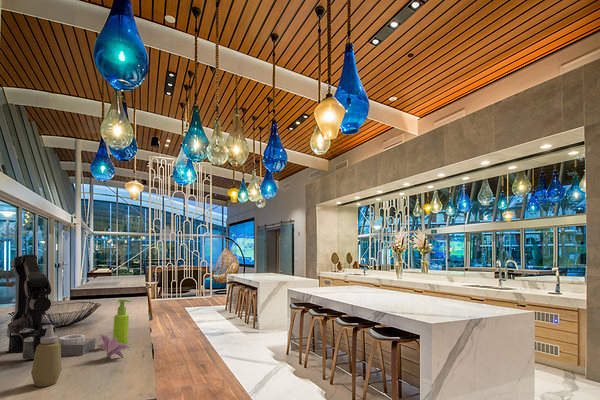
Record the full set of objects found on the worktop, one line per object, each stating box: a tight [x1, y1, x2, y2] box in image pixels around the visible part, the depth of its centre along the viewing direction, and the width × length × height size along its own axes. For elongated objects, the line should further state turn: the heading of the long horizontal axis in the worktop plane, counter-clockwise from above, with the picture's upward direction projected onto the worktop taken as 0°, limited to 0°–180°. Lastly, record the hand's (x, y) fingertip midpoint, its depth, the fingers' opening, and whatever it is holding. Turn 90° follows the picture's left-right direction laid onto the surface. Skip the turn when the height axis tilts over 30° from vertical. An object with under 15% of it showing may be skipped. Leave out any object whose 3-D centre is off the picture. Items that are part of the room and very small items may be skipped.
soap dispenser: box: [112, 299, 132, 345], centre depth 174 cm, size 6×7×20 cm
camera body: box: [57, 334, 97, 357], centre depth 163 cm, size 14×12×6 cm
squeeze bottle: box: [30, 324, 62, 387], centre depth 125 cm, size 8×8×18 cm
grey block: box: [22, 337, 35, 360], centre depth 152 cm, size 5×5×7 cm
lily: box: [95, 333, 130, 363], centre depth 151 cm, size 12×12×10 cm
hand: (31, 351), depth 151 cm, fingers closed on grey block, 5 cm apart
